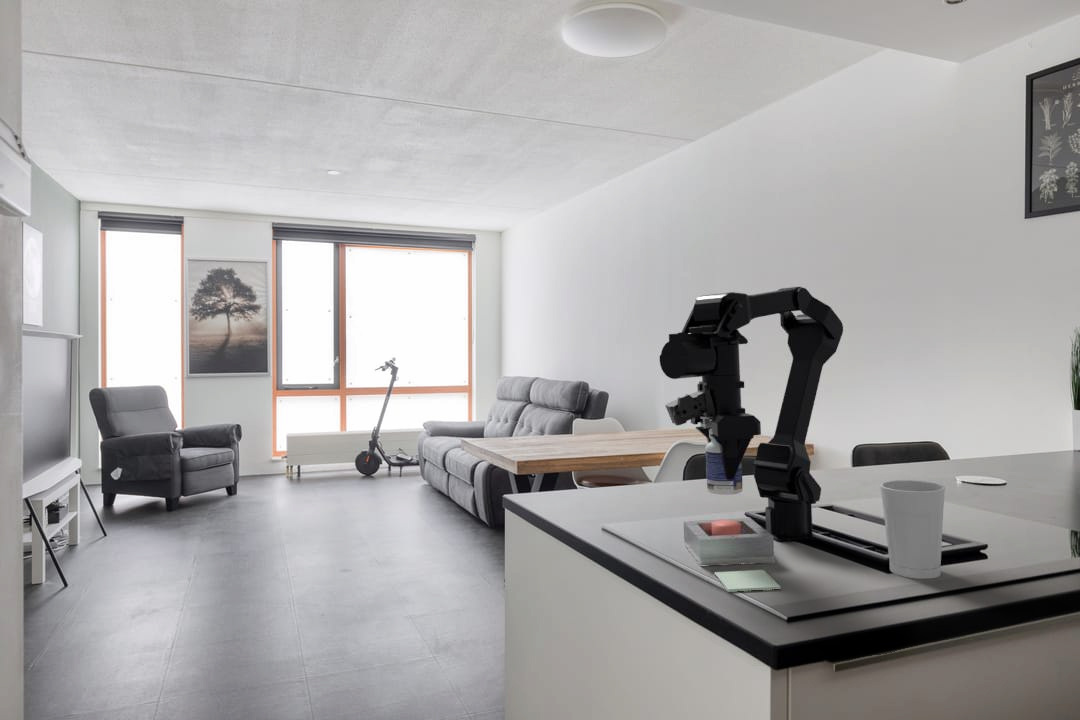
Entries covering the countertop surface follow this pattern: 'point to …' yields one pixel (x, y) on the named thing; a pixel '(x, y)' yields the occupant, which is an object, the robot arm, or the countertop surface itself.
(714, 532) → the plunger
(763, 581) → the pad
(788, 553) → the countertop surface
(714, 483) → the pill bottle
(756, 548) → the frame
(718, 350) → the robot arm
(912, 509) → the cup
